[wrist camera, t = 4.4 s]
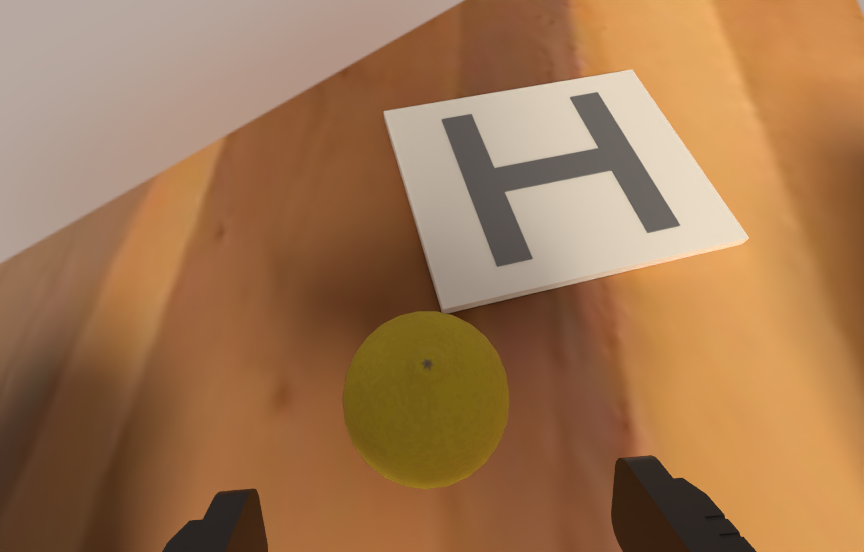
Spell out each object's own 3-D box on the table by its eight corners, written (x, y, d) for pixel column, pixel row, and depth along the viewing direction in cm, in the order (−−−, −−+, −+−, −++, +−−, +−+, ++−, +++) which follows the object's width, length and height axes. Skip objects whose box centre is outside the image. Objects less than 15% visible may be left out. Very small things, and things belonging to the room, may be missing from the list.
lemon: (336, 396, 20) (289, 324, 13) (448, 337, 21) (463, 242, 14) (396, 525, 17) (380, 525, 10) (517, 449, 19) (576, 404, 12)
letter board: (442, 314, 21) (443, 308, 21) (384, 119, 27) (383, 109, 27) (741, 244, 24) (750, 236, 23) (628, 77, 30) (632, 68, 29)
